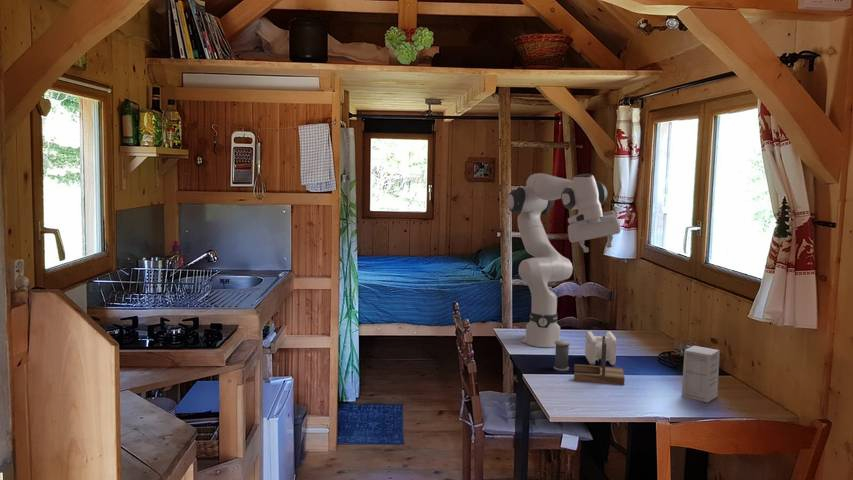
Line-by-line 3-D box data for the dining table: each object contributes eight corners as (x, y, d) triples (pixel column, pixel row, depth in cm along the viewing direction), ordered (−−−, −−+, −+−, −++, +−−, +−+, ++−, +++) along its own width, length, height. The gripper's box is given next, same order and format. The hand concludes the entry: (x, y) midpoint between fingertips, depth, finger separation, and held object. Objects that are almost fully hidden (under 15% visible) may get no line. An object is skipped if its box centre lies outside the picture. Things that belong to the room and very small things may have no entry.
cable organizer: (616, 368, 273) (617, 339, 272) (589, 366, 274) (590, 338, 273) (608, 357, 288) (610, 330, 287) (583, 356, 289) (584, 329, 288)
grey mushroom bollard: (553, 365, 274) (555, 339, 273) (568, 367, 273) (570, 340, 272) (553, 370, 268) (554, 343, 267) (568, 371, 267) (569, 344, 266)
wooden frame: (574, 370, 269) (575, 333, 267) (621, 374, 265) (624, 337, 263) (574, 380, 256) (575, 342, 254) (624, 384, 252) (626, 346, 251)
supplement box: (717, 396, 241) (721, 350, 240) (708, 403, 235) (711, 355, 233) (690, 390, 248) (693, 344, 246) (680, 396, 241) (683, 349, 239)
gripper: (612, 210, 271) (619, 245, 271) (563, 220, 268) (570, 254, 268) (619, 209, 265) (626, 244, 265) (569, 218, 262) (576, 254, 262)
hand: (597, 249), depth 266 cm, fingers open, 8 cm apart
